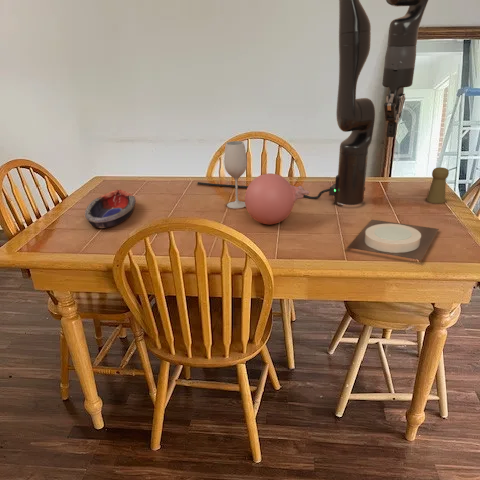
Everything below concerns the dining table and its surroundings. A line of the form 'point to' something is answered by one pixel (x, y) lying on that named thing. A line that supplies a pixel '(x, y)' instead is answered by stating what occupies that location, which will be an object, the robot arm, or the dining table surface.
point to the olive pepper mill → (438, 185)
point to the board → (418, 253)
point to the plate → (392, 238)
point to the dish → (110, 209)
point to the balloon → (271, 198)
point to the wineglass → (235, 166)
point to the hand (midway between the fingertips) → (390, 136)
